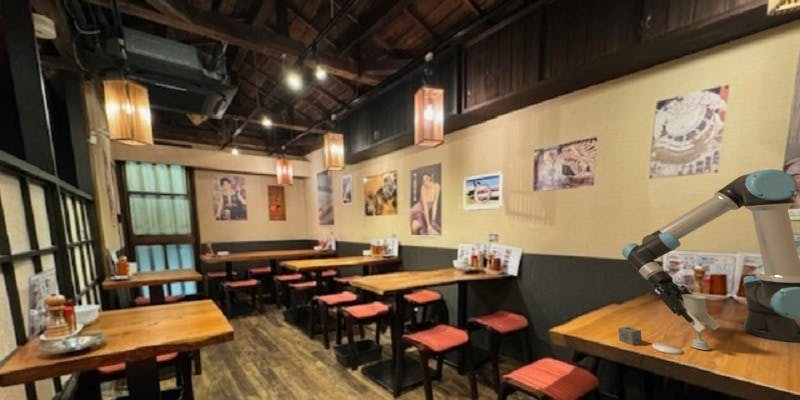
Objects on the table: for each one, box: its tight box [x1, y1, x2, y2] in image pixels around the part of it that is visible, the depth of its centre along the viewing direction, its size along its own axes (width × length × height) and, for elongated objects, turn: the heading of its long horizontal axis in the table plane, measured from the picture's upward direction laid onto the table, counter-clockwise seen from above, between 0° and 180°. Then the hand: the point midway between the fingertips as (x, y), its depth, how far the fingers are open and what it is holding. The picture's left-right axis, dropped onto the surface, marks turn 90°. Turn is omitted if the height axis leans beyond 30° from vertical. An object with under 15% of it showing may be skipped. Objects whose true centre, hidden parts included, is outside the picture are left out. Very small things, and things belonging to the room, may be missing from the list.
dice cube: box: [617, 325, 643, 346], centre depth 115 cm, size 5×5×5 cm
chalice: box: [681, 294, 711, 351], centre depth 108 cm, size 7×7×18 cm
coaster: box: [651, 342, 683, 356], centre depth 107 cm, size 8×8×1 cm
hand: (709, 329), depth 105 cm, fingers closed on chalice, 6 cm apart
